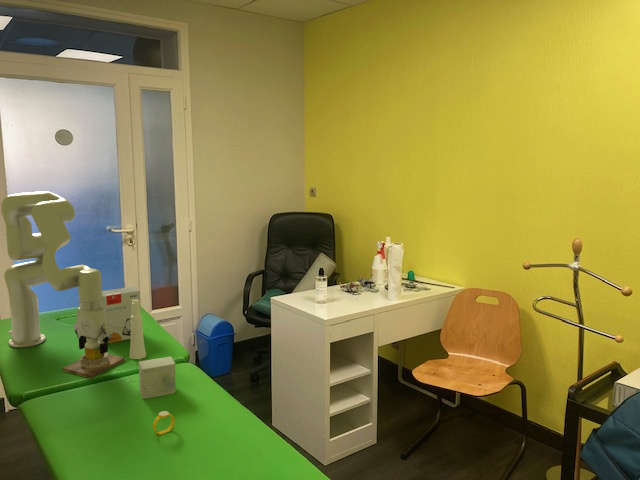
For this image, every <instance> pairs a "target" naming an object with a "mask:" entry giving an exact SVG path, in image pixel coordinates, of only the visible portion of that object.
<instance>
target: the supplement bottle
mask: <svg viewBox="0 0 640 480" xmlns="http://www.w3.org/2000/svg"><path fill="white" fill-rule="evenodd" d="M86 341H87V343H86V344H85V348H84V354H85V358H86V360H97V359H100V358H102V354H100V343H101V342H100V341H99V339H98V338H97V339H94V338H89V337H86Z"/></svg>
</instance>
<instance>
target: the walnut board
mask: <svg viewBox="0 0 640 480" xmlns="http://www.w3.org/2000/svg"><path fill="white" fill-rule="evenodd" d="M125 361H126V357H123V356H119V355H115V354H112V353H108V352H106V353H104V354H102V358H100V359H97V360H86V358H85V353H84V354H81V355H80V359H79V360H77V361H74V362H72V363H70V364H68V365H65V366H63V367H62V372H64V373H65V372H66V373H69V374H73V375H77V376H80V377H84V378H88V379H93V378H95V377H97V376H98V375H100V374H102V373H104V372H106V371H108V370H110V369H112V368H115V367H116V366H118V365H119V364H122V363H124V362H125Z"/></svg>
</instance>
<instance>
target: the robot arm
mask: <svg viewBox="0 0 640 480" xmlns="http://www.w3.org/2000/svg"><path fill="white" fill-rule="evenodd" d="M0 210H1V211H0V212H1V215H2V218H3V220H4V223H5V231H6V233H5V235H6V248H7V255H8V257H9V259H11V260H12V261H15V262H19V261H20V262H21V261H26V262H21V263H16V264H13V265H11V266H9V267H7V268H6V269H5V271H4V275H3V276H4V281H5V284H6V288H7V293H8V298H9V308H10V320H11V328H10V329H11V330H9V331H7V334H8V335H9V336H10V335H11V338H10V339H9V340H8V345H9V346H10V347H13V348H29V347H34V346H37V345H39V344H41V343H44V341H45V340H46V336H45V334H42V333H41V324H40V312H39V310H40V308H39V299H38V296H37V294H36V292H34V290H32V287H34V286H39V285H41V284H42V285H43V284H46V283H48V284H49V285H50V286H51V288H52V289H54V290H55V291H59V292H64V291H68V290H71V289H75V288H77V289H78V291H77V293H78V308H77V312H76V322H75V323H73V324H72V327H73V329H74V332H75V334H76V338H77V339H78V348H79V350H83V349H85V344H86V343H87V341H86V337H89V338H94V339H97V338H98V339H99V340H100V342H101V343H100V354H104V353H106V352H107V353H108V352H109V343H108V341H109V340H110V339H111V336H112V334H113V332H112V331H111V330H110V329H109V328H107V323H106V316H105V311H104V308H103V300H102V291H103V286H102V282H103V281H102V273H101V270H99V269H96V268H91V267H89V266H88V265H86V264H78V265H73V266H68V267H64V268H59V265H58V263H57V261H56V253H57V251H58V250H60V249H61V248H64V247H65V246H66V245H67V244H69V242H70V241H71V239H72V238H71V234H70V232H69V230H68V229H67V226H66V224H65V223H69V222H72V221H73V220H74V219H75V217H76V216H75V215H76V212H75V208H74V206H73V204H72V203H71V202H70V201H69V200H67V199H66V198H64V197H62V196H60V195H58V194H56V193H54V192H51V191H34V192H32V191H30V192H21V193H20V192H18V193H13V194H9V195H6V196H5V197H3V199H2V200H1V203H0ZM27 216H28V217H27ZM29 216H31V217H32V219H33V221H34V224H35V226H36V227H37V229H38V231H39V232H36V233H35V232H34V233H33V227H32V226H33V225H32V222H31V221H30V219H29ZM32 259H33V260H32ZM34 259H35V260H34ZM28 260H32V261H28ZM106 334H107V335H106ZM102 336H103V337H104V339H103V338H102ZM99 340H98V341H99Z"/></svg>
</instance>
